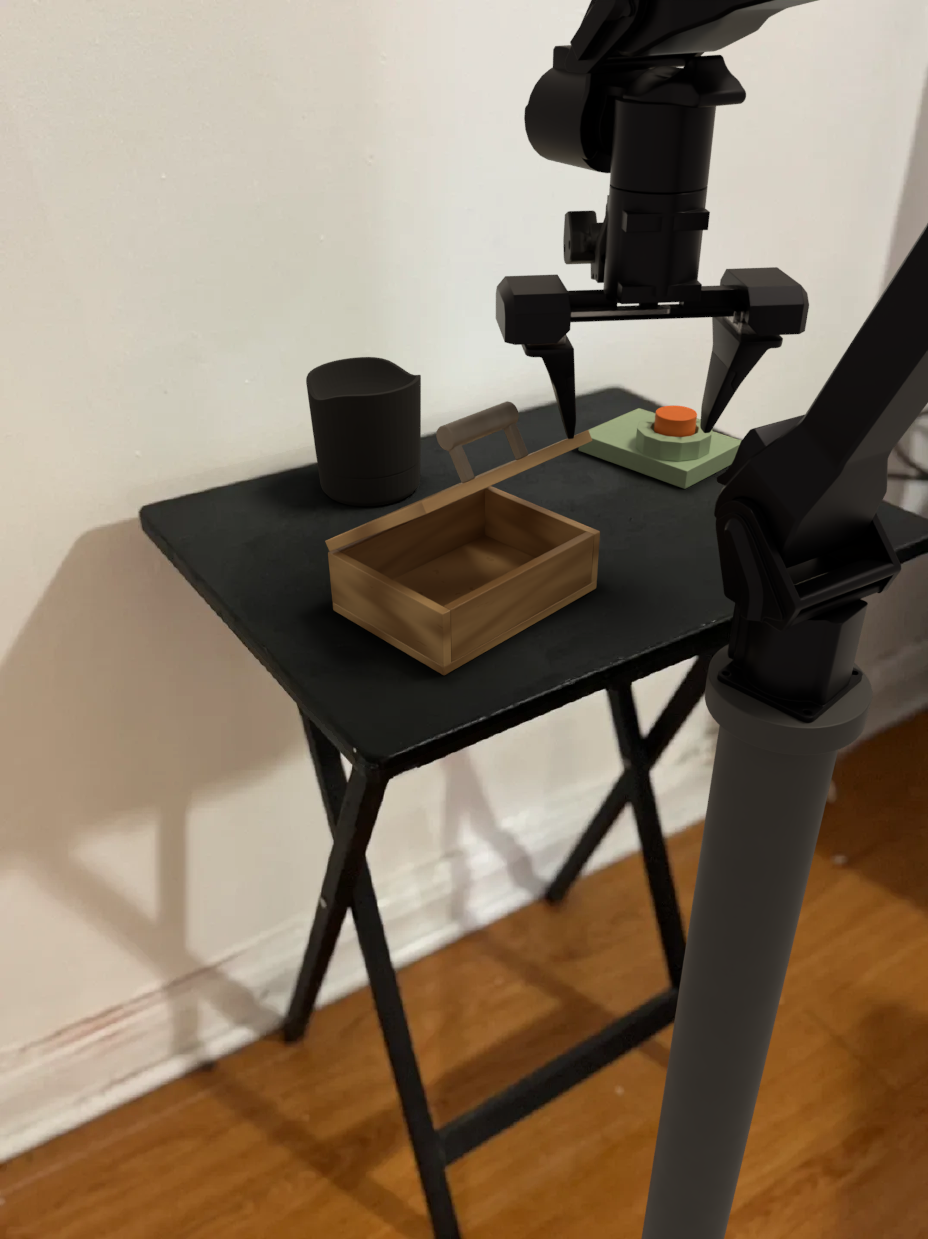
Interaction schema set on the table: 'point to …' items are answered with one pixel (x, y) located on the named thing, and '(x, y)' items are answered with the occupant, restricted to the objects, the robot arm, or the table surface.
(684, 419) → the button
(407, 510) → the case lid
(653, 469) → the control block
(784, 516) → the robot arm
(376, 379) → the pen holder
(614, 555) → the table surface
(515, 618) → the wooden case
